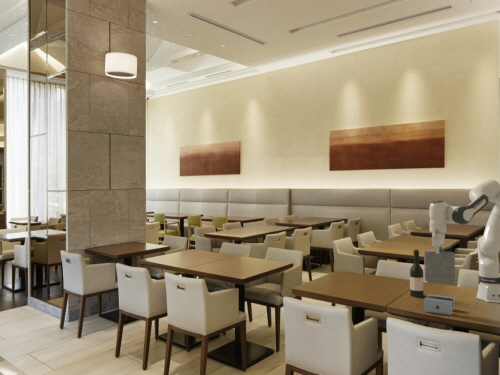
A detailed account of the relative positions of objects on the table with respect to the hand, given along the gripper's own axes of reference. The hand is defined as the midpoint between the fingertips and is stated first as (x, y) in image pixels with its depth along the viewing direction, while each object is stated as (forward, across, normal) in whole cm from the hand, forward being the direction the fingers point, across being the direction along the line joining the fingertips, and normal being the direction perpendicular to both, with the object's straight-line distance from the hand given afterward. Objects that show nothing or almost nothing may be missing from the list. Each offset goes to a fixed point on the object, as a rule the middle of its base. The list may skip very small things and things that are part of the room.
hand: (438, 252), depth 230 cm
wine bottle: (+33, +26, +17) cm, 45 cm away
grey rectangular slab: (+17, 0, 0) cm, 17 cm away
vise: (+33, 0, 0) cm, 33 cm away
